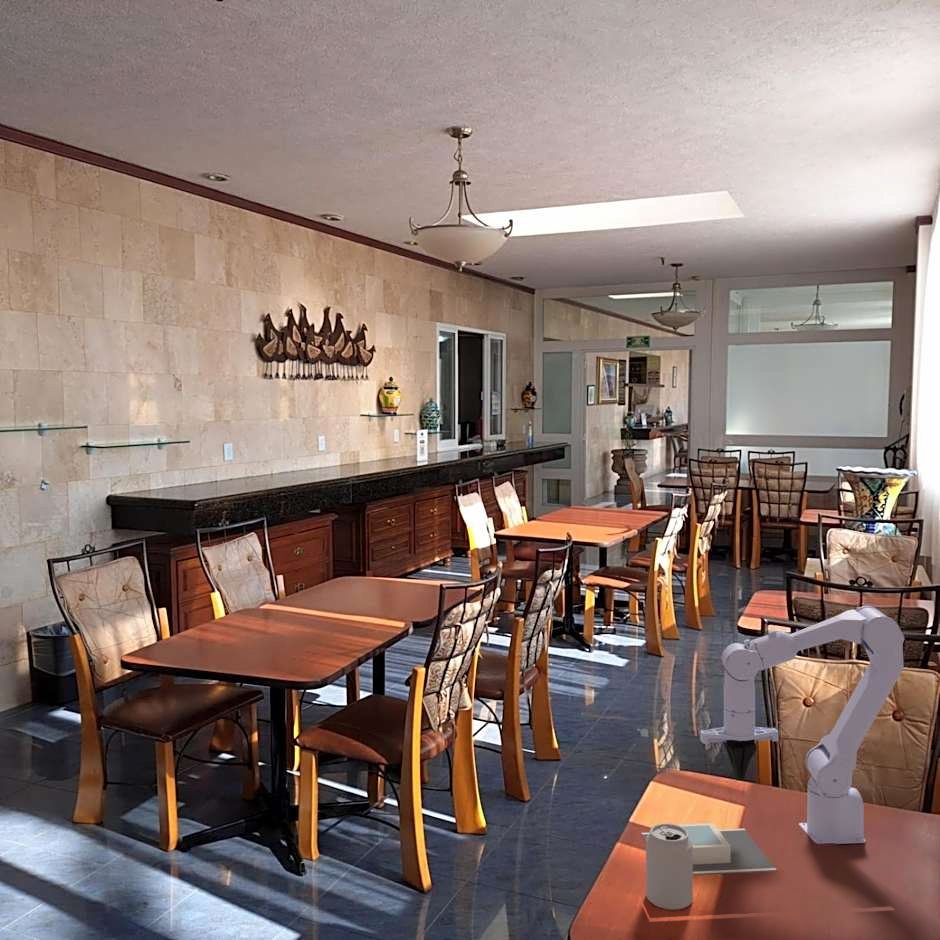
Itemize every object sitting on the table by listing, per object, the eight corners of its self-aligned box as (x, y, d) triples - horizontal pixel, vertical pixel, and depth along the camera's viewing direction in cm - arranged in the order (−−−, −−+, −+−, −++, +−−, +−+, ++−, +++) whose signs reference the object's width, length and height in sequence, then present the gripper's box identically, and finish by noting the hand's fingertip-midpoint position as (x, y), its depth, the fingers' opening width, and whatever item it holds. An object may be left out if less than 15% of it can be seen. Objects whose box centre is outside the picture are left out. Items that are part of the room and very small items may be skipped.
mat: (743, 830, 171) (743, 827, 171) (777, 873, 155) (777, 870, 155) (640, 835, 170) (640, 832, 169) (663, 879, 154) (663, 875, 154)
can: (666, 919, 142) (666, 846, 141) (636, 896, 148) (636, 826, 147) (702, 906, 145) (702, 835, 144) (672, 885, 152) (671, 816, 151)
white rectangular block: (713, 822, 167) (674, 824, 166) (730, 845, 158) (688, 847, 157) (713, 838, 167) (674, 840, 166) (730, 862, 158) (688, 864, 157)
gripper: (768, 700, 173) (768, 768, 174) (695, 702, 173) (695, 771, 173) (783, 712, 166) (782, 783, 167) (706, 715, 166) (706, 786, 166)
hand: (738, 778), depth 170 cm, fingers closed
